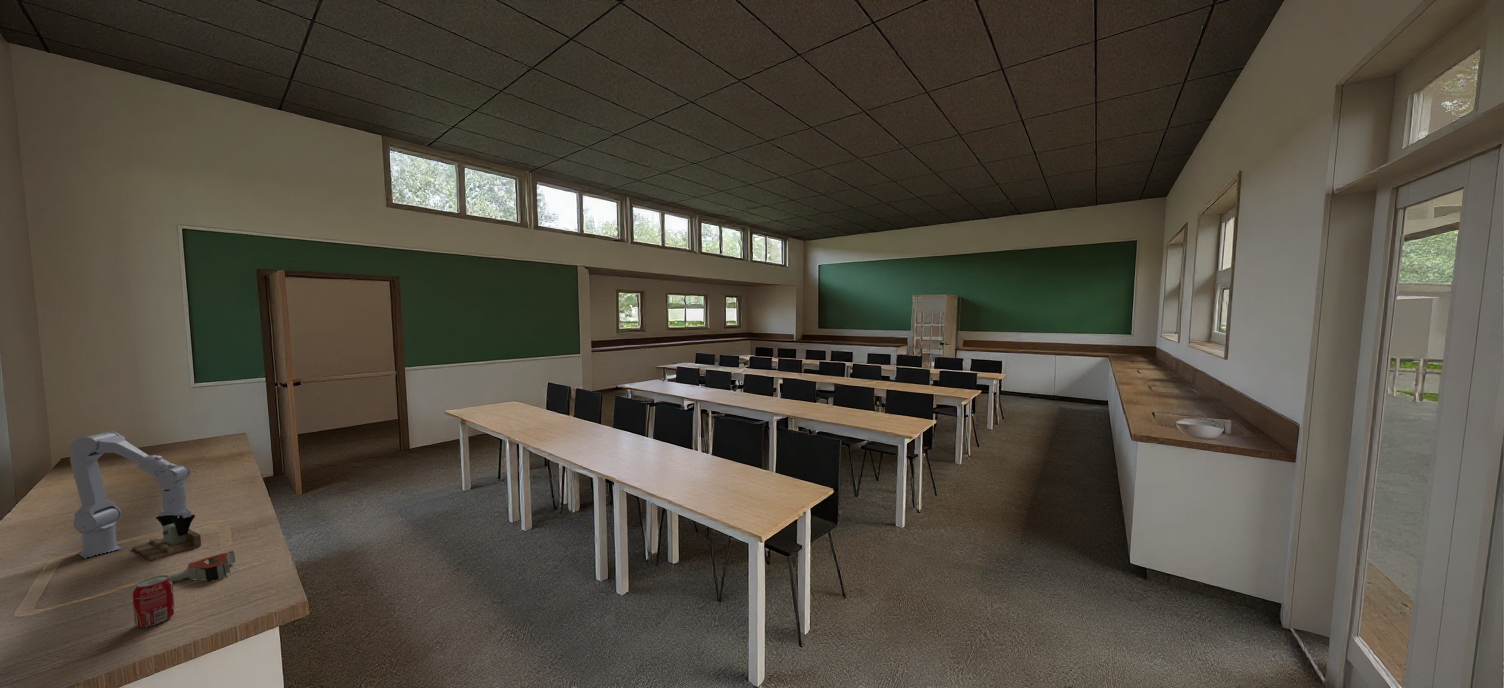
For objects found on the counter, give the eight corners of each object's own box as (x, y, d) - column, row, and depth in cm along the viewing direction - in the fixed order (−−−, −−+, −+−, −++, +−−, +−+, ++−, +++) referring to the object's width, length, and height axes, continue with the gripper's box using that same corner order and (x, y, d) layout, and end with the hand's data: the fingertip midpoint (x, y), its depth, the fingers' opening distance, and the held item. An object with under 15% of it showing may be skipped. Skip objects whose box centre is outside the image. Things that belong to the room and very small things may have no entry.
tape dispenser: (136, 596, 148) (199, 592, 148) (133, 581, 148) (196, 577, 148) (201, 565, 166) (257, 561, 166) (198, 551, 165) (254, 547, 165)
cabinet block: (160, 545, 176) (159, 527, 176) (179, 539, 181) (178, 521, 181) (168, 546, 175) (167, 528, 175) (186, 541, 180) (185, 523, 179)
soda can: (156, 614, 136) (153, 574, 136) (182, 613, 137) (180, 573, 136) (125, 630, 129) (123, 588, 129) (154, 629, 130) (151, 587, 129)
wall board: (132, 549, 176) (131, 537, 175) (181, 535, 186) (181, 524, 186) (150, 560, 167) (150, 548, 167) (201, 546, 178) (200, 534, 177)
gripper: (146, 500, 176) (148, 536, 177) (171, 504, 172) (173, 540, 173) (174, 494, 183) (176, 528, 184) (198, 497, 179) (200, 532, 180)
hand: (176, 533), depth 179 cm, fingers open, 7 cm apart
